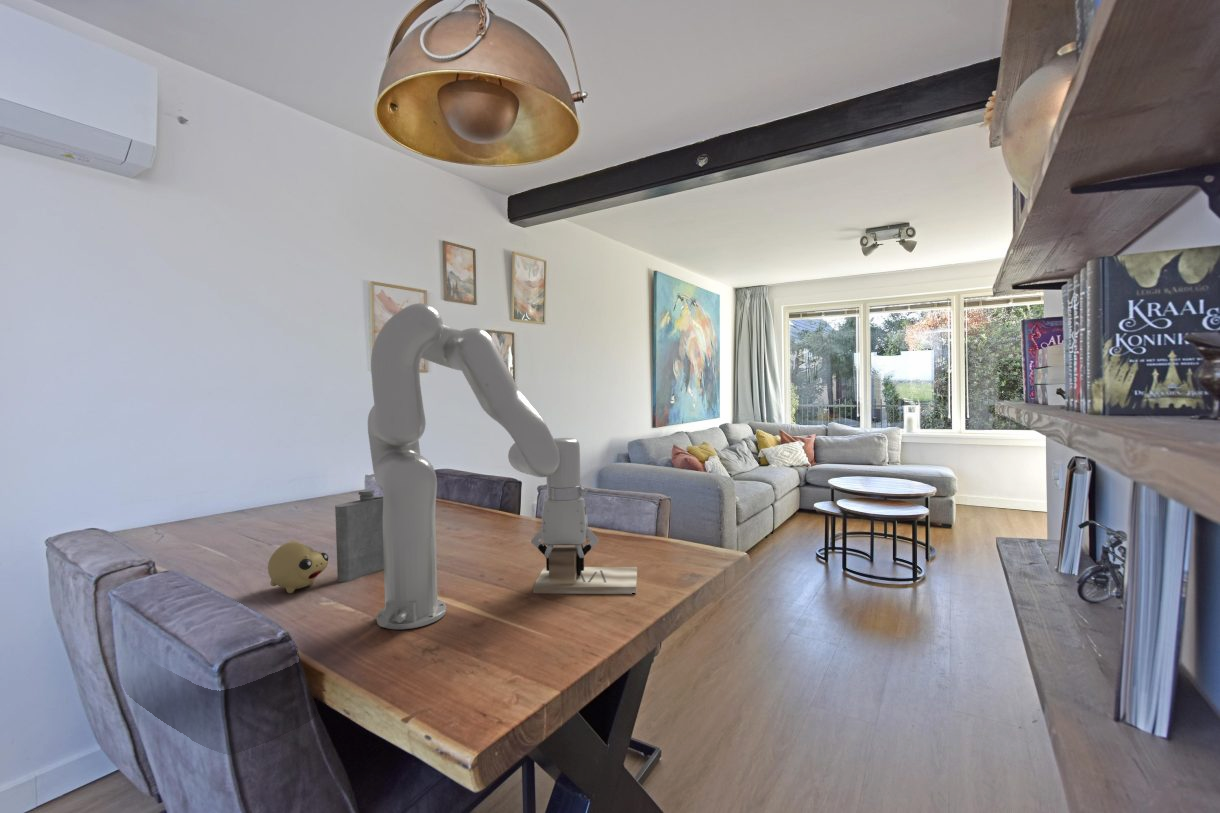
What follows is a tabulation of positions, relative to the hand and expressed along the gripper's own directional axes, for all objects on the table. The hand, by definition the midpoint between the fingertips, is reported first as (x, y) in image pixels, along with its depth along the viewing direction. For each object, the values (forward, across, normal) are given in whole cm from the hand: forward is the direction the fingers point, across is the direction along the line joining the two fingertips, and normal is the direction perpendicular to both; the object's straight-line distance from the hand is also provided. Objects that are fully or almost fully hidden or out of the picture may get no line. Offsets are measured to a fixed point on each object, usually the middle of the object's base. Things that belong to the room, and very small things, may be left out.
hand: (565, 572), depth 123 cm
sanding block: (+1, 0, 0) cm, 1 cm away
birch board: (+2, -5, 0) cm, 5 cm away
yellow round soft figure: (+2, +59, +5) cm, 59 cm away
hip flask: (+2, +49, -7) cm, 50 cm away
